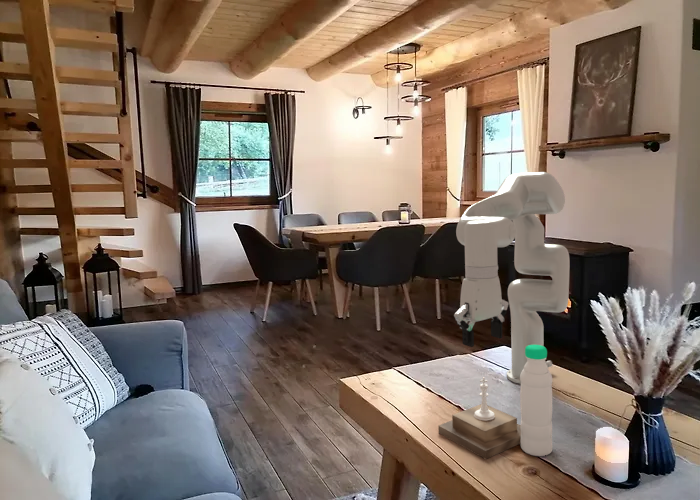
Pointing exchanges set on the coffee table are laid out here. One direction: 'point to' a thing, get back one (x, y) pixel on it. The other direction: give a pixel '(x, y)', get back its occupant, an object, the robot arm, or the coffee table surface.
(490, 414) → the chess piece
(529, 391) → the water bottle
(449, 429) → the plinth
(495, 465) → the coffee table surface
